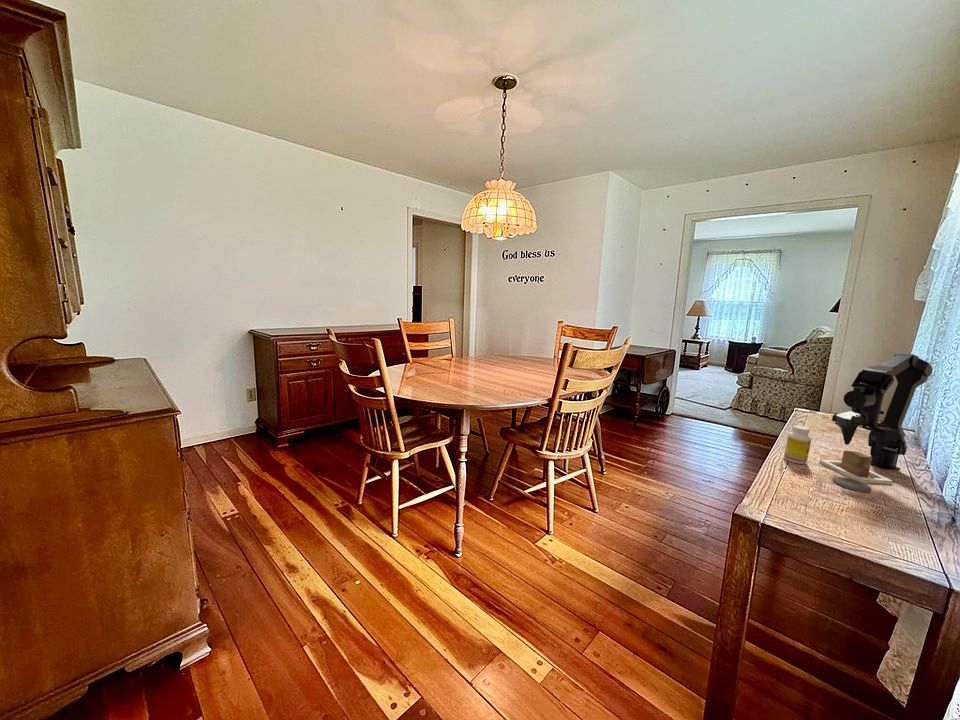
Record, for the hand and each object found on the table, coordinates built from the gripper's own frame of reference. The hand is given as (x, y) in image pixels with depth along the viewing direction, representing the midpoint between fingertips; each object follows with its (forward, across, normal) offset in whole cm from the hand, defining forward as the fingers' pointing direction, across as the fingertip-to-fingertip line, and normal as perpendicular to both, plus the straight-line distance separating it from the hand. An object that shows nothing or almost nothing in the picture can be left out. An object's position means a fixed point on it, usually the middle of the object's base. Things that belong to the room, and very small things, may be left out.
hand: (859, 449), depth 132 cm
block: (+9, 0, 0) cm, 9 cm away
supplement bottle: (+9, -8, -14) cm, 18 cm away
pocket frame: (+8, 0, 0) cm, 9 cm away
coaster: (+8, +10, -10) cm, 17 cm away
